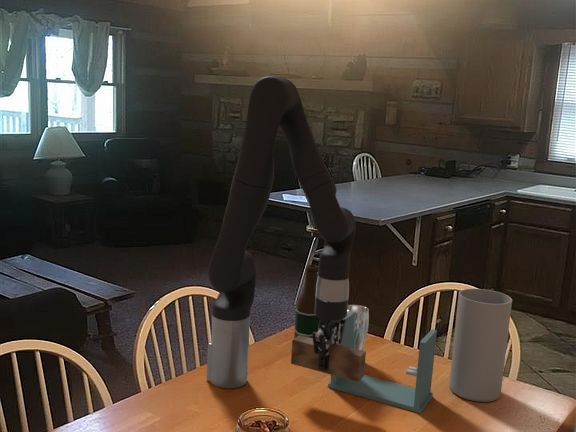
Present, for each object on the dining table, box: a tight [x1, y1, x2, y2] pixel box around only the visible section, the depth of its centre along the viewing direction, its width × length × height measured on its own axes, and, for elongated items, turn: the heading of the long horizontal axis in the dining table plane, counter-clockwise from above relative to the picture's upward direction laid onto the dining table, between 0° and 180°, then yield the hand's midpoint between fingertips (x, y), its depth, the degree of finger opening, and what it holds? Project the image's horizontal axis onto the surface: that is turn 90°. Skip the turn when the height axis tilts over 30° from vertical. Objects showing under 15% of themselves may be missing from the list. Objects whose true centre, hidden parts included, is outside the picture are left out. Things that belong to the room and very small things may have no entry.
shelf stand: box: [327, 312, 438, 414], centre depth 152 cm, size 24×10×17 cm, turn 62°
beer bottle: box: [293, 264, 320, 339], centre depth 179 cm, size 8×8×24 cm
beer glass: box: [347, 304, 370, 351], centre depth 171 cm, size 7×7×15 cm
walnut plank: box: [290, 335, 367, 382], centre depth 145 cm, size 17×4×6 cm, turn 62°
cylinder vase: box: [448, 288, 513, 403], centre depth 155 cm, size 12×12×25 cm
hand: (327, 366), depth 145 cm, fingers closed on walnut plank, 3 cm apart
